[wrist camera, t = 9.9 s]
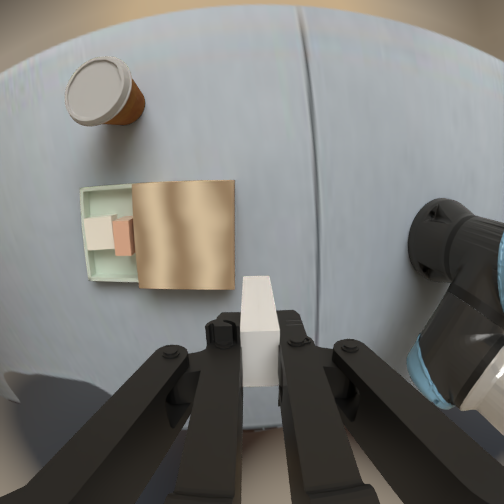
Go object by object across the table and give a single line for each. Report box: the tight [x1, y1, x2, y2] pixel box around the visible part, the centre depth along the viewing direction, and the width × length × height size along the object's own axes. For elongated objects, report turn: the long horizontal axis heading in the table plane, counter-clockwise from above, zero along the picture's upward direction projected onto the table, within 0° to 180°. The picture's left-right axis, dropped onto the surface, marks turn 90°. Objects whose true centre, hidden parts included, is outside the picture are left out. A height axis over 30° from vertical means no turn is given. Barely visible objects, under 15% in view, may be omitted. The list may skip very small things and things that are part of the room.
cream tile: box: [84, 214, 118, 250], centre depth 42 cm, size 5×5×2 cm
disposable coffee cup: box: [65, 56, 145, 126], centre depth 33 cm, size 10×10×12 cm
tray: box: [80, 183, 139, 282], centre depth 43 cm, size 10×15×2 cm, turn 0°
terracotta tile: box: [112, 216, 135, 256], centre depth 41 cm, size 5×5×2 cm
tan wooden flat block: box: [132, 180, 235, 290], centre depth 42 cm, size 14×15×5 cm
